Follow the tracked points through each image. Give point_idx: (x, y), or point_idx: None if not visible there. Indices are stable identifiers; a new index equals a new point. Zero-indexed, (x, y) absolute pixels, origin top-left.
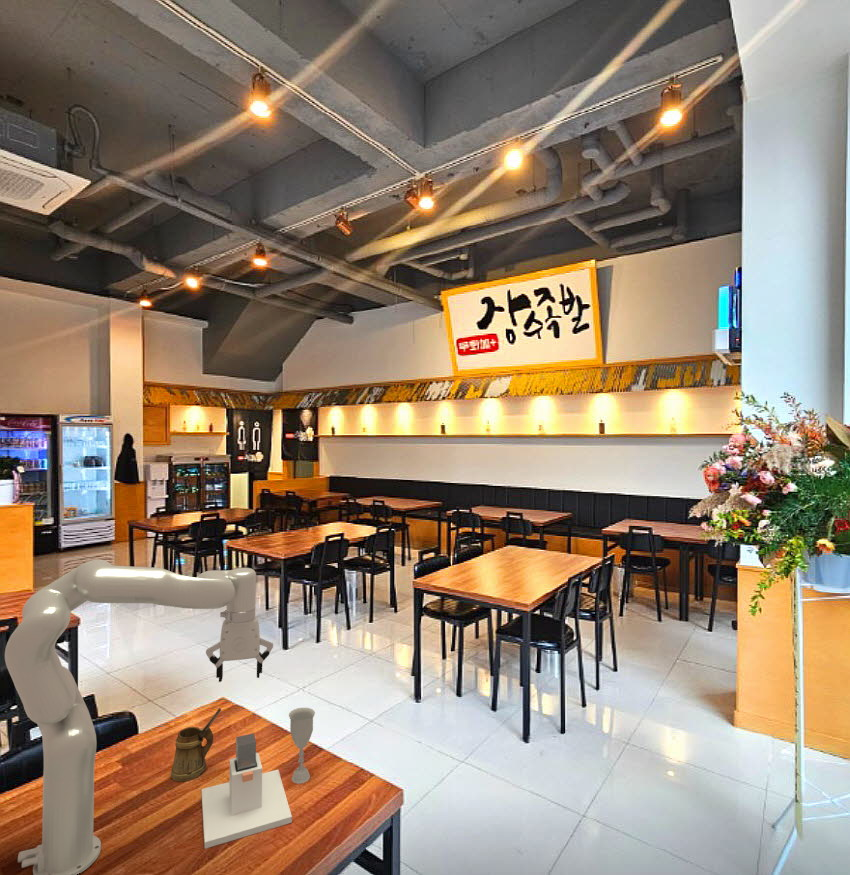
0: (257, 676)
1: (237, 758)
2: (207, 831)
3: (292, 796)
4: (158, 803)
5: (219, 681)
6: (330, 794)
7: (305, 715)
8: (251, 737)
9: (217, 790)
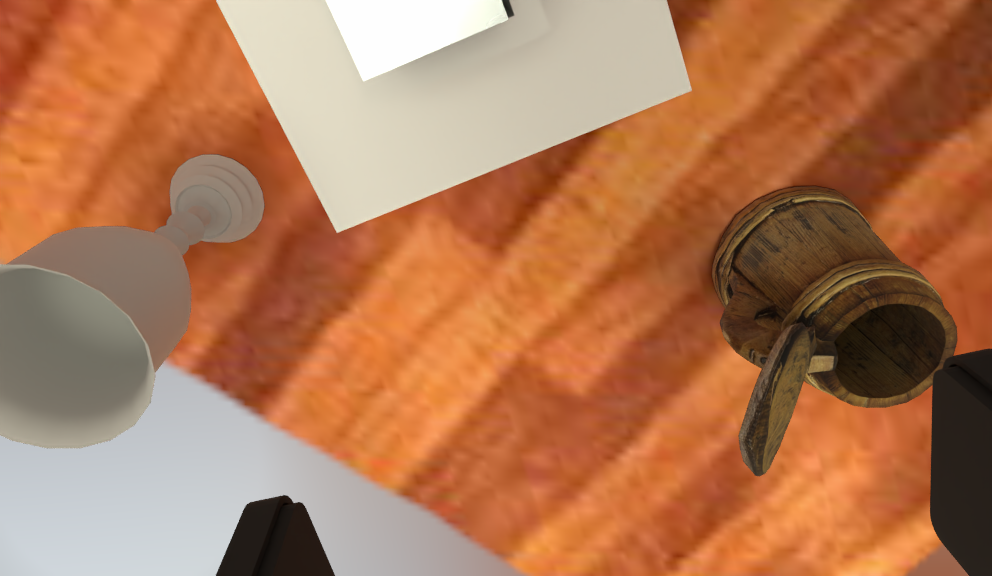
0: (274, 510)
1: None
2: None
3: (212, 55)
4: (880, 27)
5: (981, 354)
6: (12, 63)
7: (70, 401)
8: (362, 8)
9: (606, 74)
